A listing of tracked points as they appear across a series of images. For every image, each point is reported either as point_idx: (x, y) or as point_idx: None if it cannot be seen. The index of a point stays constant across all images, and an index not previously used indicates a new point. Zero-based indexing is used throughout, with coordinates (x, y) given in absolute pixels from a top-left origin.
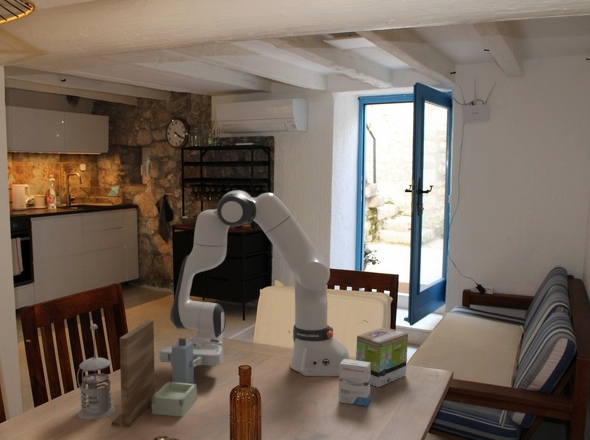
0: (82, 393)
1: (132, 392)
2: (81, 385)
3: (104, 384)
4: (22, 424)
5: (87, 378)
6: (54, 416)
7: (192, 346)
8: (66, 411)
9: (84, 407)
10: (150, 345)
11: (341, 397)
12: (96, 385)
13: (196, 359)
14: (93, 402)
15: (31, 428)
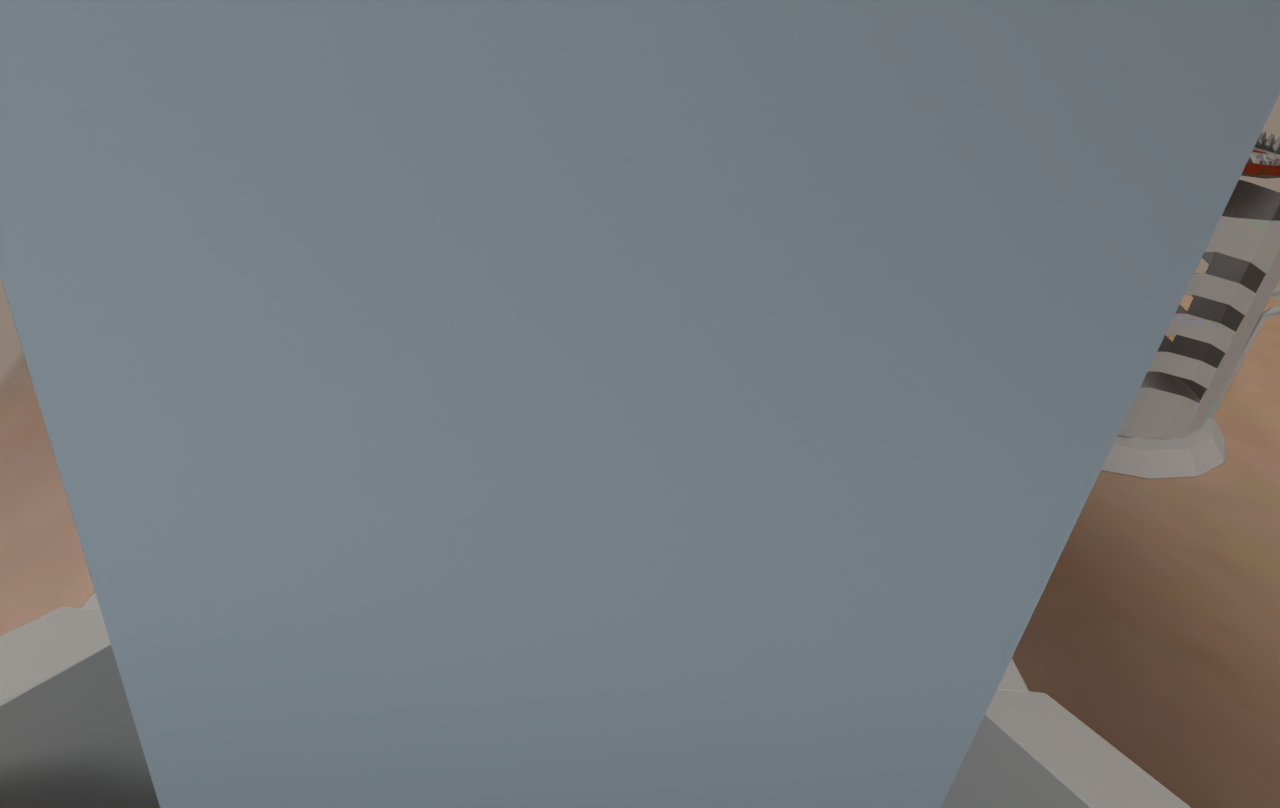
0: (1229, 275)
1: None
2: (1251, 199)
3: (1197, 276)
4: (1275, 321)
5: (1265, 155)
6: (1243, 365)
7: (45, 131)
8: (1262, 402)
9: (1170, 379)
10: None
11: None
12: (1259, 290)
13: (33, 646)
14: (1200, 420)
15: (1185, 302)
